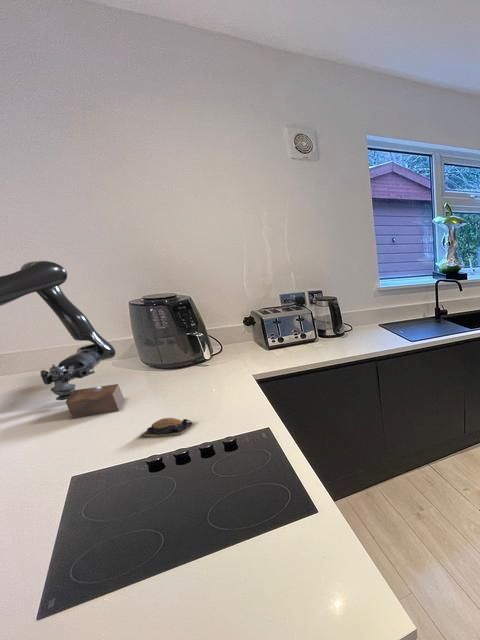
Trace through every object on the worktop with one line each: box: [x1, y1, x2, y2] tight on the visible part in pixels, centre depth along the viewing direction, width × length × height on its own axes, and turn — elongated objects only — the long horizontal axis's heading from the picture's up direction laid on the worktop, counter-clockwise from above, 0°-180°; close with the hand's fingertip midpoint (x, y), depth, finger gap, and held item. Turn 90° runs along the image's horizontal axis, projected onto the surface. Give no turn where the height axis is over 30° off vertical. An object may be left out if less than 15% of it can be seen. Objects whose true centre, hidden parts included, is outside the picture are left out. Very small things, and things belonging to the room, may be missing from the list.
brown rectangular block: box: [65, 383, 125, 420], centre depth 134 cm, size 11×11×6 cm
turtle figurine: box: [141, 417, 194, 438], centre depth 122 cm, size 11×8×4 cm
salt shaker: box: [48, 363, 76, 401], centre depth 135 cm, size 6×6×12 cm
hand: (55, 380), depth 132 cm, fingers closed on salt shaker, 3 cm apart
